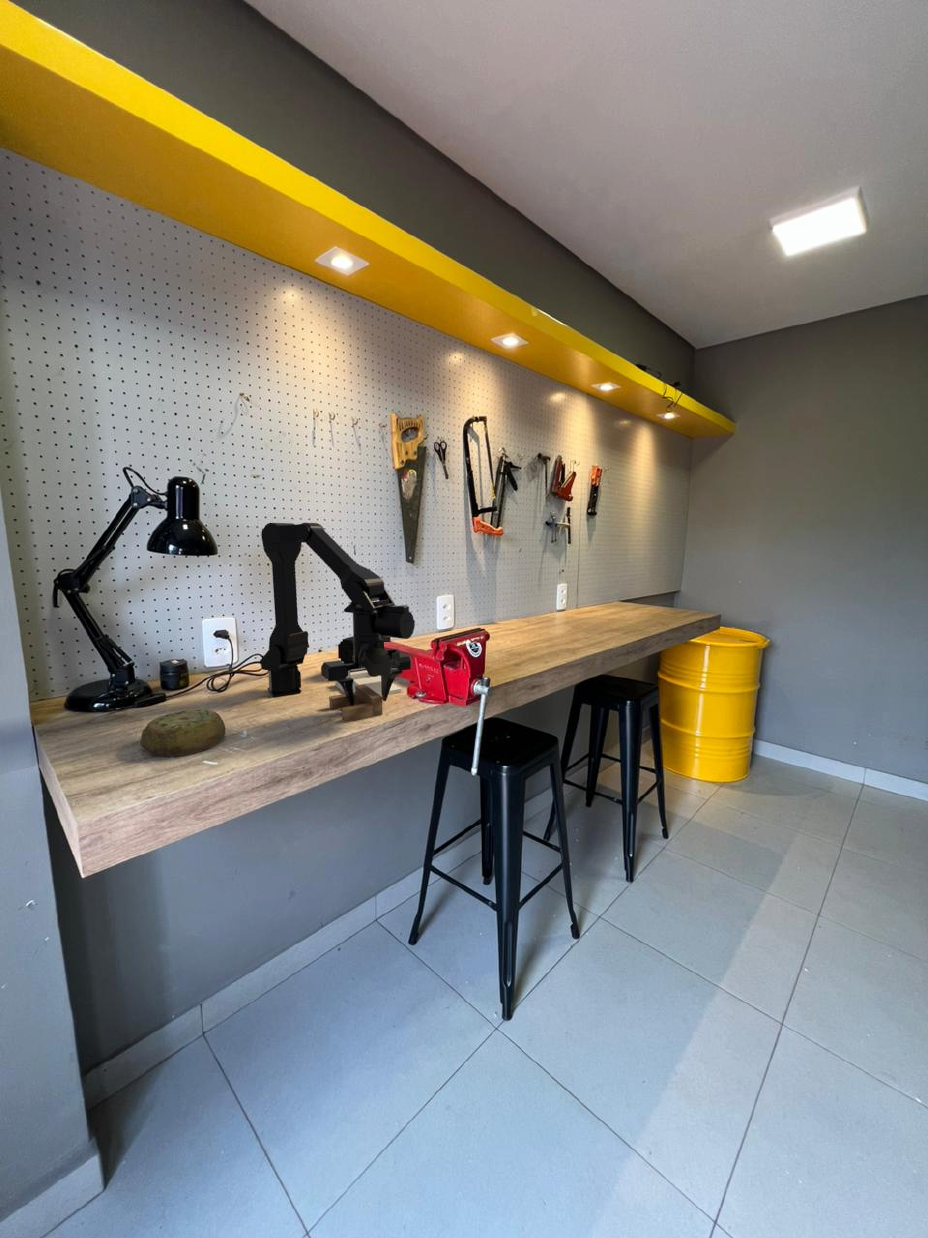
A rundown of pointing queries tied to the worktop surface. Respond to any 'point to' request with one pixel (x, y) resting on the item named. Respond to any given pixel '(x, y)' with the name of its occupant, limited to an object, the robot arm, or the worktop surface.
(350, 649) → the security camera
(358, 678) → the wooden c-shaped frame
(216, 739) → the olive green pebble
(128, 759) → the worktop surface
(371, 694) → the wooden c-shaped bracket
